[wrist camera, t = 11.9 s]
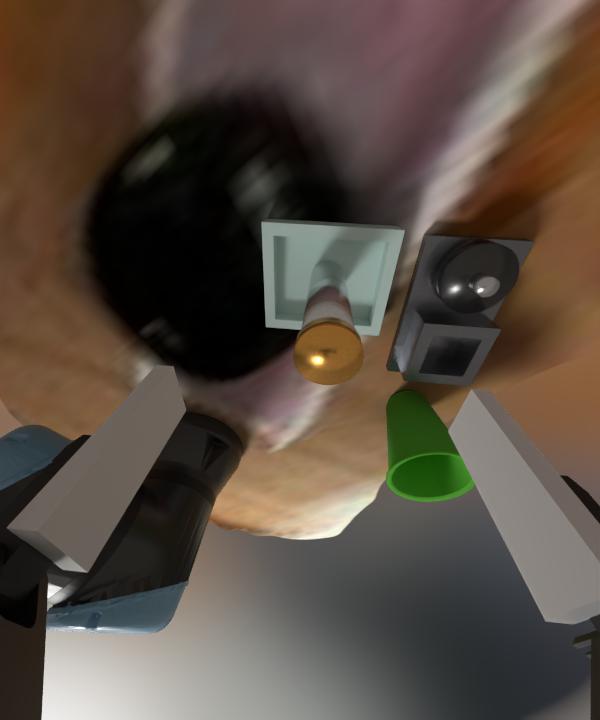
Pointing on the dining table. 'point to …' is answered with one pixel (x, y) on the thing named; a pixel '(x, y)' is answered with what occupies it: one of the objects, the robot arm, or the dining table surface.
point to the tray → (328, 243)
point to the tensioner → (454, 306)
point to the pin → (328, 330)
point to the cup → (422, 452)
